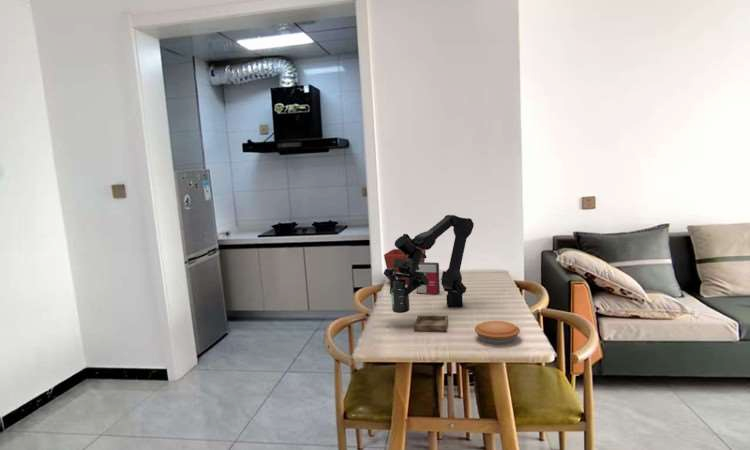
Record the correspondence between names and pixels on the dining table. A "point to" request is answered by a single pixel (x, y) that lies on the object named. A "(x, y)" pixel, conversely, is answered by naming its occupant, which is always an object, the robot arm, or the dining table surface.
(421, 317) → the walnut tray
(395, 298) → the supplement bottle
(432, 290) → the grey and red box
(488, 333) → the pie
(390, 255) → the plant pot
